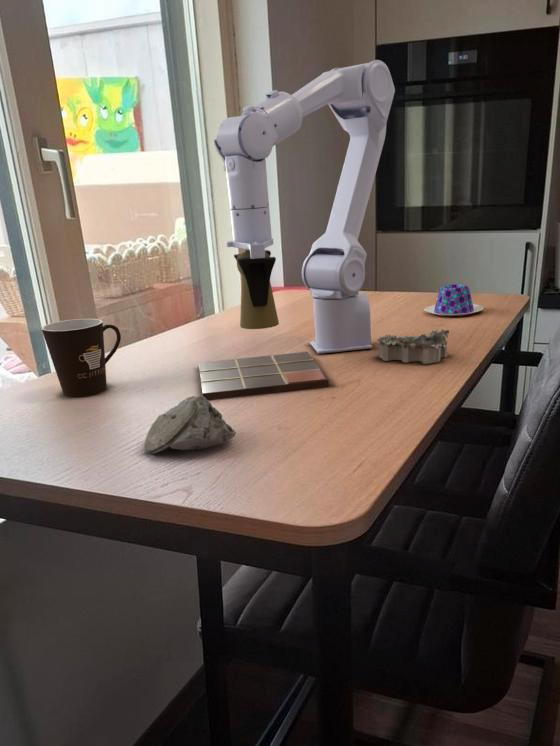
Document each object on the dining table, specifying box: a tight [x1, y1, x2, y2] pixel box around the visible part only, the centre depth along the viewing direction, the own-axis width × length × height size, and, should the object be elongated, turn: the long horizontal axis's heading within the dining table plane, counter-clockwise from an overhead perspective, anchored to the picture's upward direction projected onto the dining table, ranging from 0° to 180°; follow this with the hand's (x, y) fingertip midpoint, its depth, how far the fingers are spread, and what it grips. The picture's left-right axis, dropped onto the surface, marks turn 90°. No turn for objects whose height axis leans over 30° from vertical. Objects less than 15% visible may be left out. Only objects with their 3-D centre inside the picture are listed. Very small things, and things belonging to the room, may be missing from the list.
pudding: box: [424, 283, 485, 317], centre depth 143 cm, size 12×12×5 cm
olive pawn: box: [236, 251, 280, 330], centre depth 107 cm, size 6×6×11 cm
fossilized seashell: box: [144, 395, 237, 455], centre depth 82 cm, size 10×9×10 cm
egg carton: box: [376, 329, 450, 365], centre depth 112 cm, size 11×8×4 cm
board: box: [198, 351, 330, 401], centre depth 107 cm, size 18×18×1 cm
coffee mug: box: [40, 318, 122, 398], centre depth 105 cm, size 12×9×10 cm
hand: (258, 302), depth 108 cm, fingers closed on olive pawn, 5 cm apart
